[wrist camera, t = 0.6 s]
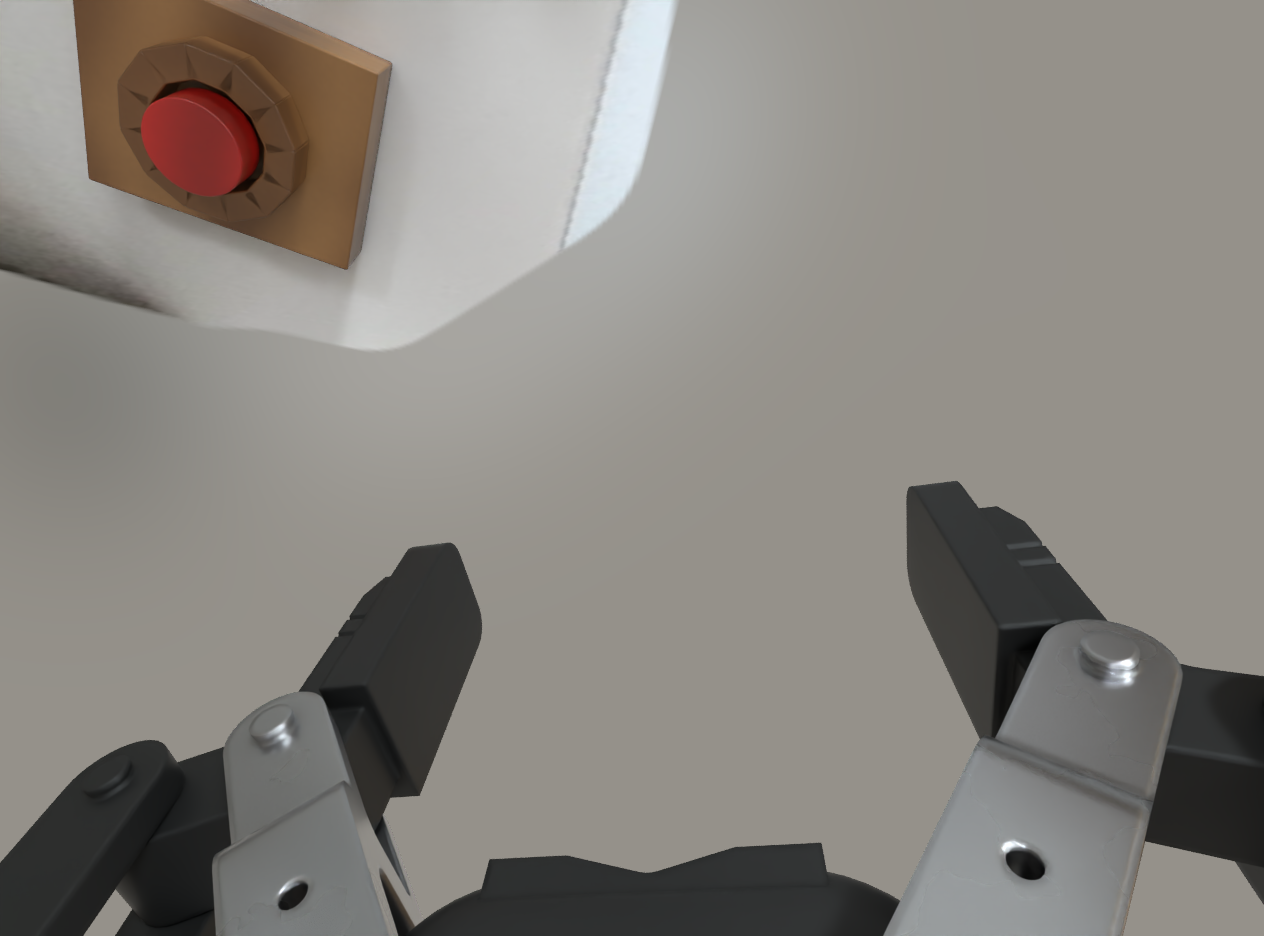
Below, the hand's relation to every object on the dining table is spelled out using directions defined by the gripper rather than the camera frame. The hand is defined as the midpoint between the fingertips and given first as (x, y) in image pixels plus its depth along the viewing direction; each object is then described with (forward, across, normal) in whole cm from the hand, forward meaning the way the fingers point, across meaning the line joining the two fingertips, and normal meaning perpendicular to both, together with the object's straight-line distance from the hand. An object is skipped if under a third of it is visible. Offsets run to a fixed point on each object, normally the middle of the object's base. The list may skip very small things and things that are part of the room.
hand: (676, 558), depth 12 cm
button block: (+23, +18, -10) cm, 31 cm away
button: (+19, +18, -10) cm, 28 cm away
